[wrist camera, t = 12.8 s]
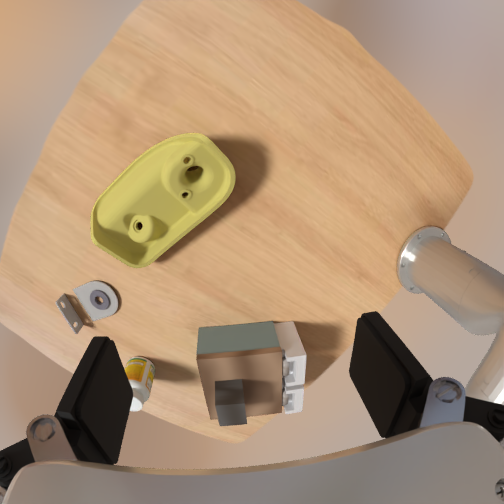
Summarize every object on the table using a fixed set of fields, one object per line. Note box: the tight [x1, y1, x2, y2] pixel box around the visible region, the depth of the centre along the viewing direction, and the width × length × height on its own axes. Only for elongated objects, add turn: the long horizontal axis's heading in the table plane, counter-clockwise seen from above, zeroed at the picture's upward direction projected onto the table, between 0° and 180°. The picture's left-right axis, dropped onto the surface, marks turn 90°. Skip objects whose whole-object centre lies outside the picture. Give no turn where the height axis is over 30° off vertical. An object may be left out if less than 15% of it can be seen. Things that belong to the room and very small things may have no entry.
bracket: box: [56, 281, 118, 334], centre depth 43 cm, size 7×10×4 cm, turn 110°
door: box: [196, 347, 290, 426], centre depth 41 cm, size 13×14×6 cm
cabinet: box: [197, 321, 306, 414], centre depth 46 cm, size 15×14×9 cm
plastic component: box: [91, 133, 235, 268], centre depth 38 cm, size 20×7×10 cm
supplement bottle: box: [125, 356, 155, 411], centre depth 45 cm, size 5×5×10 cm
